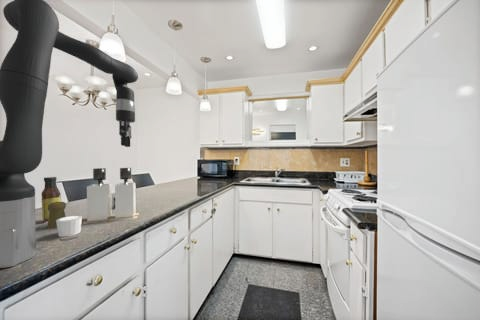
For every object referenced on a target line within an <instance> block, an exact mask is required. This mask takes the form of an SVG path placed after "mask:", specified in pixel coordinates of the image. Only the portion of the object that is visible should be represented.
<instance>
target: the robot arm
mask: <svg viewBox="0 0 480 320" xmlns="http://www.w3.org/2000/svg"><path fill="white" fill-rule="evenodd" d="M2 10H3V11H2V12H3V16H4V18H5V20H6V22H7V23H8V25H10V26H11V27H12V28H13V29H14V30H16V31H17V35H16V39H15V41H14V42H13V44H12V46H11V47H10V48H9V50H8V51H7V53H6V54H5V57H4V58H3V60H2V62H1V65H0V103H1V106H2V109H3V111H4V113H5V118H6V123H5V124H6V125H5V129H4V135H3V138H2V140H0V269H3V268H4V269H5V268H11V267H15V266H17V265H18V264H21V263H22V262H26V261H28V260H30V259H33V257H35V256H36V255H37V240H36V239H37V238H36V237H37V235H36V234H37V233H36V231H37V229H36V228H37V227H36V225H37V224H36V188H35V186H33V185H32V184H31V183H29V182H28V181H27V179H26V177H25V174H28V173H31V172H33V171H36V169H37V168H38V167H39V166H40V164H41V163H42V162H41V161H42V158H43V122H44V114H45V105H46V99H47V97H48V96H47V93H48V88H49V87H48V86H49V77H50V72H51V71H50V69H51V63H52V62H51V61H52V54H53V49H57V50H58V51H61V52H63V53H66V54H67V55H70V56H73V57H74V58H77V59H78V60H81V61H83V62H85V63H87V64H88V65H90V66H92V67H94V68H96V69H97V70H100V71H101V72H103V73H105V74H108V75H111V77H112V80H113V84H114V88H115V90H116V98H115V99H116V100H115V101H116V102H115V120H116V121H117V122H119V123H118V124H119V126H118V127H119V129H118V132H119V133H118V135H119V136H120V145H121V146H123V147H126V148H130V147H131V139H132V126H131V125H130V124H131V123H132V124H133V123H135V122H136V105H135V92H134V89H132V88H130V87H128V84H133V83H136V82H137V81H138V80H139V75H138V72H137V71H136V69H135V68H134V67H133V66H132V65H130V64H127V63H126V62H124V61H121V60H119V59H116V58H114V57H112V56H111V55H109V54H108V53H106V52H104V51H103V50H102V49H100V48H98V47H96V46H94V45H92V44H90V43H87V42H84V41H81V40H79V39H76V38H74V37H71V36H69V35H66V34H64V33H63V32H61V31H60V23H59V18H58V15H57V14H56V12H55V10H54V9H53V8H52V7H51V6H50V4H49V3H48V2H47V1H45V0H12V1H10V2H8V3H7V4H5V6H4V7H3V9H2Z"/></svg>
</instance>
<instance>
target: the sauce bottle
mask: <svg viewBox="0 0 480 320" xmlns="http://www.w3.org/2000/svg"><path fill="white" fill-rule="evenodd" d="M43 182H44V188H43V190H42V191H41V215H42V222H43V223H48V219H49V213H50V211H49V210H48V205H49V204H50V203H53V202H62V195H61V191H60V190H59V188H58V186H57V176H47V177H46V176H45V177H43Z"/></svg>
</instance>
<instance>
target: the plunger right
mask: <svg viewBox="0 0 480 320" xmlns="http://www.w3.org/2000/svg"><path fill="white" fill-rule="evenodd" d="M119 179H120V180H123V183H124V185H127V184H128V183H129V182H128V181H129V180H131V179H132V167H119Z"/></svg>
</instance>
